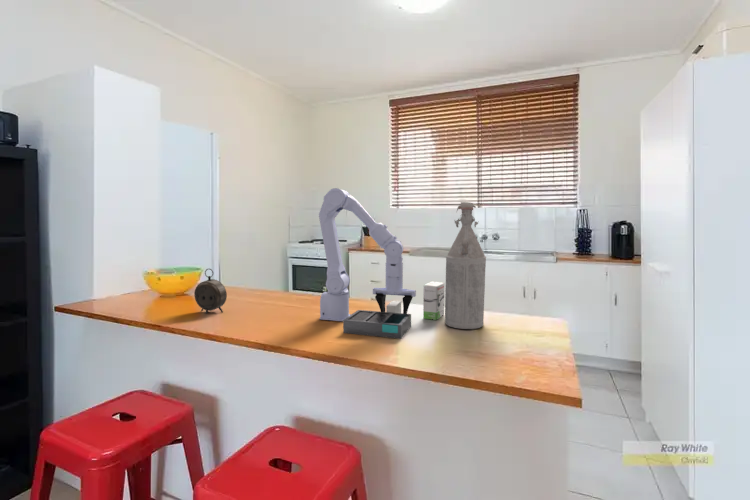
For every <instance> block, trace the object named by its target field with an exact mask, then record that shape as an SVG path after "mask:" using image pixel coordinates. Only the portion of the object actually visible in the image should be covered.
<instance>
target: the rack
mask: <svg viewBox="0 0 750 500" xmlns="http://www.w3.org/2000/svg"><path fill="white" fill-rule="evenodd" d="M350 314H351V315H350V316H349V317H347V318H346V319H344V320H343V321H342V323H343V324H342V325H343V326H342V328H343V329H342V330H343V331H342V333H343V334H351V335H360V336H370V337H379V338H380V337H381V338H389V339H390V338H391V339H397V340H398V339H400V340H401V339H403V337H404V336H405V335H406V334H407V332H408V331H409V330H410V328H411V327H412V314H411V313H407V314H403V312H401V313H391V312H386V311H385V312H381V311H377V310H366V309H357V310H356V311H354V312H353V313H350Z"/></svg>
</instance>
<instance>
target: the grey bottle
mask: <svg viewBox="0 0 750 500" xmlns="http://www.w3.org/2000/svg"><path fill="white" fill-rule="evenodd" d="M474 209H477V206H476V205H474V202H470V201H469V202H468V201H460V205H458V206H457V208H456V212H458V211H459V210H461V215H460V217H458V218H457V220H454V224H455V226H456V228H459V227H460V226H459V225H460V223H459V222H461V228H460V229H459V232H458V233H457V234H456V236H455V239H454V242H453V243H452V245H451V247H450V249H449V251H448V253H447V255H446V256H445V289H444V323H445V324H446V325H447V326H448V327H450V328H455V329H462V330H475V329H479V328H483V326H484V318H485V317H484V316H485V315H484V313H485V294H486V293H485V288H486V263H487V256H486V255H485V253H484V251H483V249H482V246H481V244H480V242H479V240H478V238H477V236H476V234H475V232H474V229H473V227H472V225H473V222H474V228H476V227H477V225H478V224H479V221H476V219H475V217H474V216H473V211H474Z"/></svg>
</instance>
